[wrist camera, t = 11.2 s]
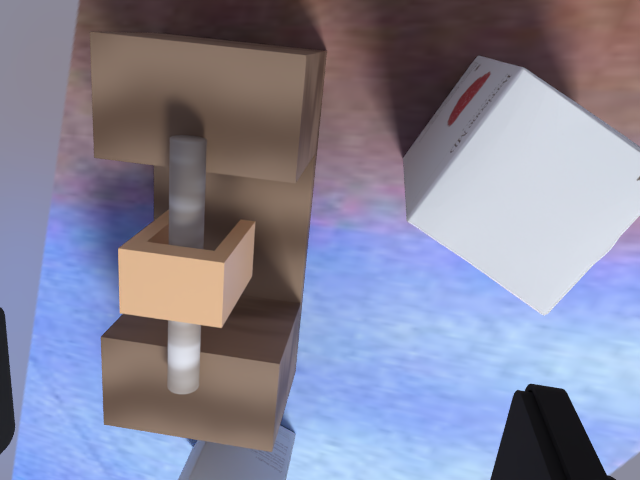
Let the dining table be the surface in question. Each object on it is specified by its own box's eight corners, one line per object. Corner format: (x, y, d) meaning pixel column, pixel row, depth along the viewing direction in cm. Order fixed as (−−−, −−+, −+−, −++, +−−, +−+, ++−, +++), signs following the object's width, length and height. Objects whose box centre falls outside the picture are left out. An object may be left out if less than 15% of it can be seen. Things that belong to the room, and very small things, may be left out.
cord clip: (167, 209, 39) (117, 248, 32) (255, 221, 38) (224, 263, 31) (167, 264, 40) (119, 313, 33) (252, 276, 40) (221, 328, 33)
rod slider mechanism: (159, 32, 41) (70, 31, 30) (326, 51, 40) (300, 56, 29) (158, 351, 50) (89, 443, 38) (295, 372, 49) (266, 472, 38)
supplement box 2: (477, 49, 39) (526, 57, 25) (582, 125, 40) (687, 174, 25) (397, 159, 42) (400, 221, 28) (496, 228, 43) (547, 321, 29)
